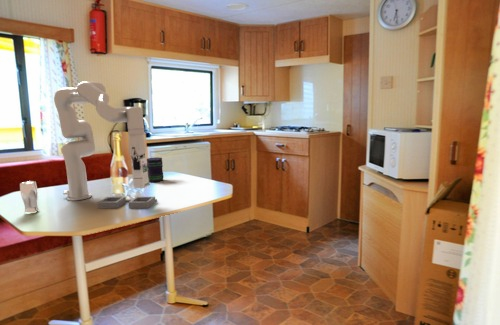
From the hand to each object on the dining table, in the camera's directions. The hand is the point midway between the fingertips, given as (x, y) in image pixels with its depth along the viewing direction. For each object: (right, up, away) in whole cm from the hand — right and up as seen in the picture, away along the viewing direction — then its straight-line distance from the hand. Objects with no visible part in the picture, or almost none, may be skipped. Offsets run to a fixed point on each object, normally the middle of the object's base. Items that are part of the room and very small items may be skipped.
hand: (139, 168), depth 177 cm
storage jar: (-7, -10, +57) cm, 58 cm away
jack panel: (-8, -19, +5) cm, 21 cm away
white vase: (-52, -22, -3) cm, 56 cm away
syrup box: (0, -10, +2) cm, 10 cm away
